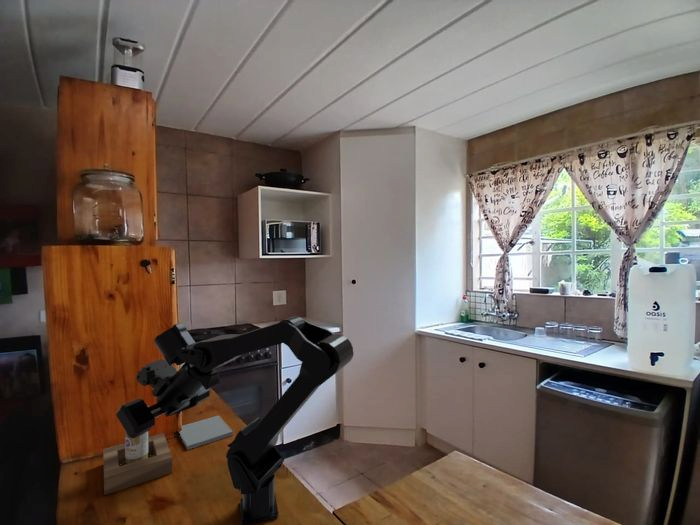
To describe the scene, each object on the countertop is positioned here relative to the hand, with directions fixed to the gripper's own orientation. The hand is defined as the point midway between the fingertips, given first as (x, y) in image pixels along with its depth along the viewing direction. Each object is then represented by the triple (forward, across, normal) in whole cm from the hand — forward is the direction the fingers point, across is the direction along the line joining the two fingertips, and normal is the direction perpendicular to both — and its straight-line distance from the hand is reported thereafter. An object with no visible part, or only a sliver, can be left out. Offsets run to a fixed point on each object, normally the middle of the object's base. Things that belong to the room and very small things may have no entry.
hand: (148, 424), depth 75 cm
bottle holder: (+10, 0, +5) cm, 11 cm away
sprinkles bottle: (+10, 0, +5) cm, 11 cm away
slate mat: (+8, -17, +7) cm, 20 cm away
